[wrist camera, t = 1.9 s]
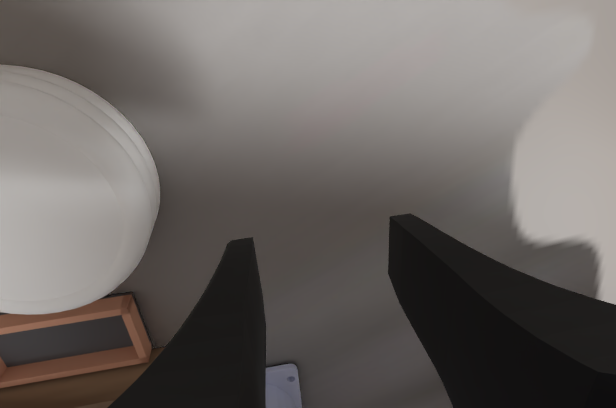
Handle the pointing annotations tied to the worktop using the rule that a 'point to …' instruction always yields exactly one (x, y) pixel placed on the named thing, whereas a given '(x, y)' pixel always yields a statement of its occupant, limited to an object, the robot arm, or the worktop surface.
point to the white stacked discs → (68, 194)
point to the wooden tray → (76, 388)
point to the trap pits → (72, 341)
